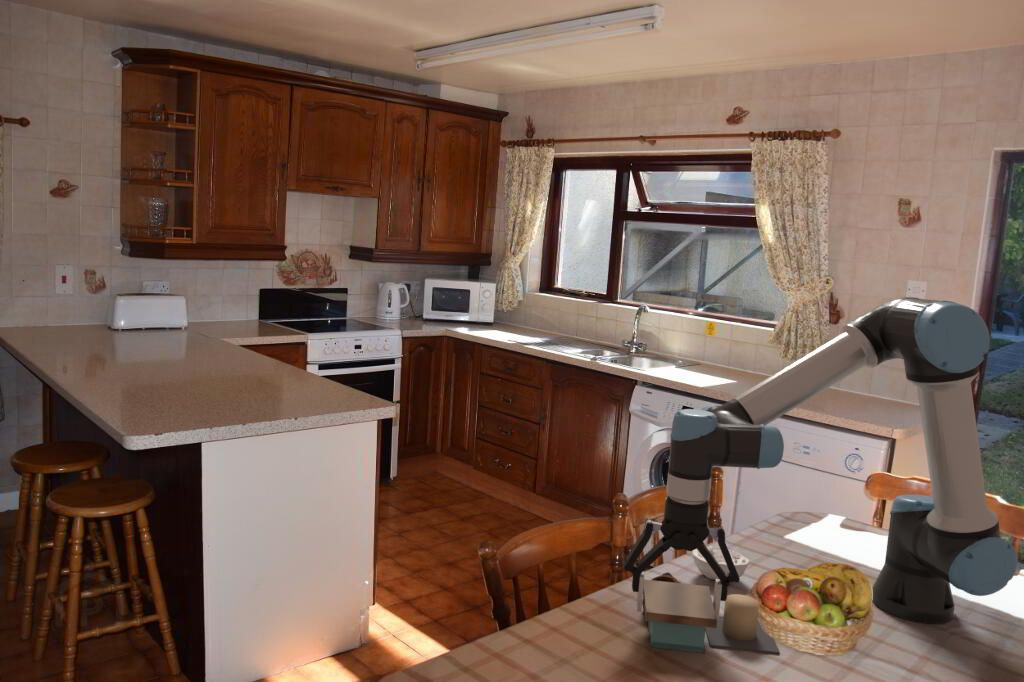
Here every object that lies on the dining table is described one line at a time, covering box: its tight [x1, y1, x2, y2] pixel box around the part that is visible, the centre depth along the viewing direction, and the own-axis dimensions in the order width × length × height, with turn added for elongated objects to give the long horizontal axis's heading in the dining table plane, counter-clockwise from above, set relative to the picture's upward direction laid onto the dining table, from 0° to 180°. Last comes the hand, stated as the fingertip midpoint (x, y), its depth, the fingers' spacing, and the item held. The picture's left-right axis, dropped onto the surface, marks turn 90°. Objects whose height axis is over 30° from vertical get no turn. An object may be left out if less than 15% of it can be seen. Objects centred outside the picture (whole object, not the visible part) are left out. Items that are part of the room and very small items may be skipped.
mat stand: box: [705, 593, 781, 655], centre depth 148 cm, size 12×12×6 cm
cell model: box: [691, 545, 751, 580], centre depth 174 cm, size 10×12×7 cm
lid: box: [642, 579, 717, 628], centre depth 145 cm, size 12×12×2 cm
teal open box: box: [647, 621, 706, 654], centre depth 146 cm, size 9×9×6 cm
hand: (676, 612), depth 145 cm, fingers open, 13 cm apart
